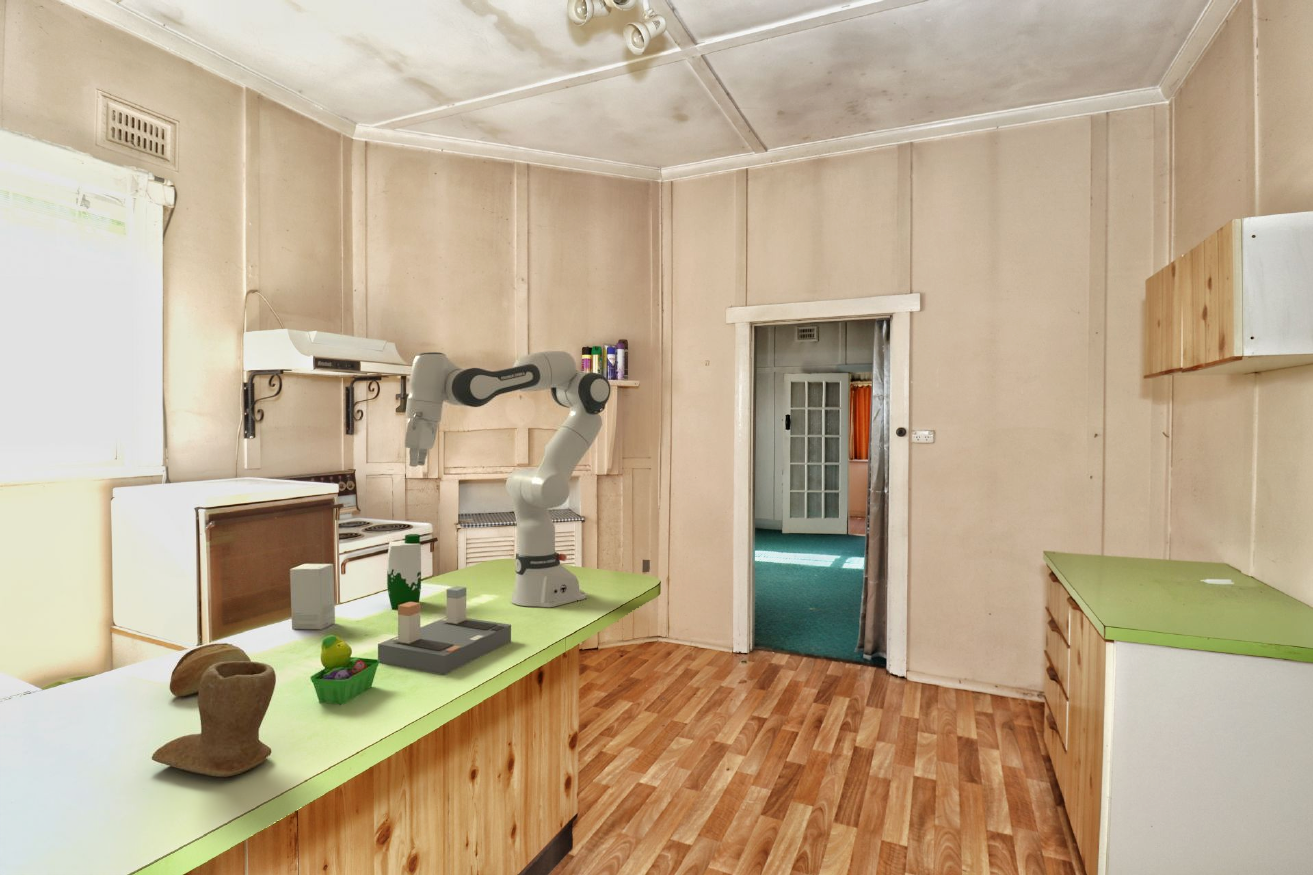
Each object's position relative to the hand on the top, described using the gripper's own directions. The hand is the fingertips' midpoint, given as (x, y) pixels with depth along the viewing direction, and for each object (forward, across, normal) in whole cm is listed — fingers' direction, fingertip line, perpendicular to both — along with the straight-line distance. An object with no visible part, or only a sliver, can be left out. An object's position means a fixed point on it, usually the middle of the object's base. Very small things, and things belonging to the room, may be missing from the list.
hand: (417, 465), depth 175 cm
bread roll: (+46, -37, +27) cm, 65 cm away
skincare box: (+44, +1, +21) cm, 48 cm away
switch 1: (+37, -27, -8) cm, 46 cm away
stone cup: (+45, -69, +10) cm, 83 cm away
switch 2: (+36, -13, -16) cm, 41 cm away
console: (+40, -22, -16) cm, 49 cm away
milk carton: (+41, +20, +2) cm, 46 cm away
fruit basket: (+43, -44, 0) cm, 62 cm away
